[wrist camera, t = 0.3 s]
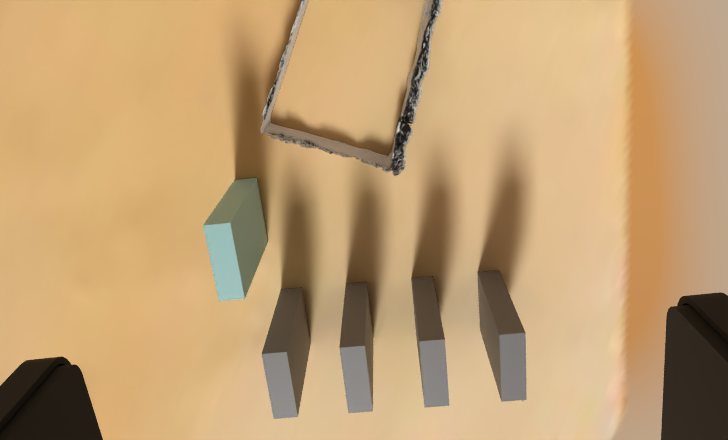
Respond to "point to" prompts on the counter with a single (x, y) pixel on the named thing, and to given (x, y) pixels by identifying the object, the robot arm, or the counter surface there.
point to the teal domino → (236, 239)
